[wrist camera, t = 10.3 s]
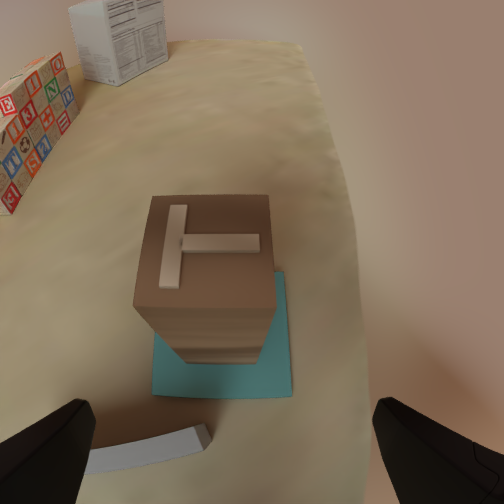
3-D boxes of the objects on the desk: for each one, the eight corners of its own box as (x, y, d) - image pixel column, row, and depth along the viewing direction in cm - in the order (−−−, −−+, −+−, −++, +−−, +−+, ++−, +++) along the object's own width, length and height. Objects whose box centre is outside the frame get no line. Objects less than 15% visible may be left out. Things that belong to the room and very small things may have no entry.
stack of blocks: (12, 217, 27) (-37, 145, 16) (-13, 216, 27) (-59, 153, 16) (80, 112, 38) (61, 49, 27) (53, 117, 38) (32, 59, 27)
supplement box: (170, 60, 48) (164, -18, 32) (118, 87, 42) (101, 0, 27) (131, 54, 51) (121, -12, 36) (83, 79, 45) (66, 8, 30)
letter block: (255, 364, 20) (277, 305, 10) (186, 363, 20) (131, 304, 9) (253, 300, 23) (268, 191, 12) (189, 300, 22) (151, 193, 12)
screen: (212, 441, 18) (203, 450, 13) (65, 470, 15) (26, 476, 10) (204, 422, 18) (193, 426, 14) (59, 453, 15) (19, 456, 11)
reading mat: (290, 396, 20) (291, 396, 19) (153, 395, 19) (151, 394, 19) (282, 274, 25) (283, 271, 24) (162, 274, 24) (161, 271, 24)
